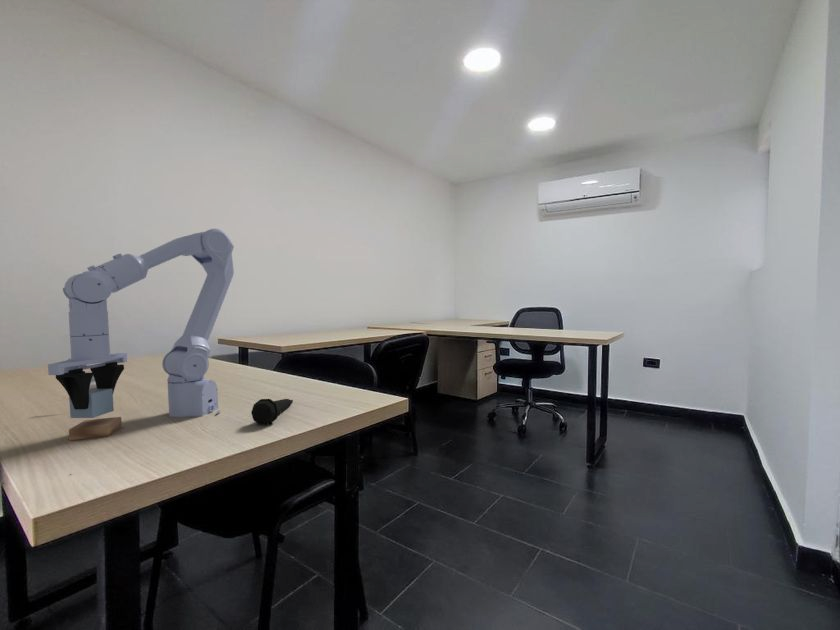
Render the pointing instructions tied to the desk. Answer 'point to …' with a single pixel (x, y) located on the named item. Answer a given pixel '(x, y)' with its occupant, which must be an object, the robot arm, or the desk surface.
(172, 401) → the robot arm
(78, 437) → the tower mid
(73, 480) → the desk surface
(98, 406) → the cube
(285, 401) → the microphone
